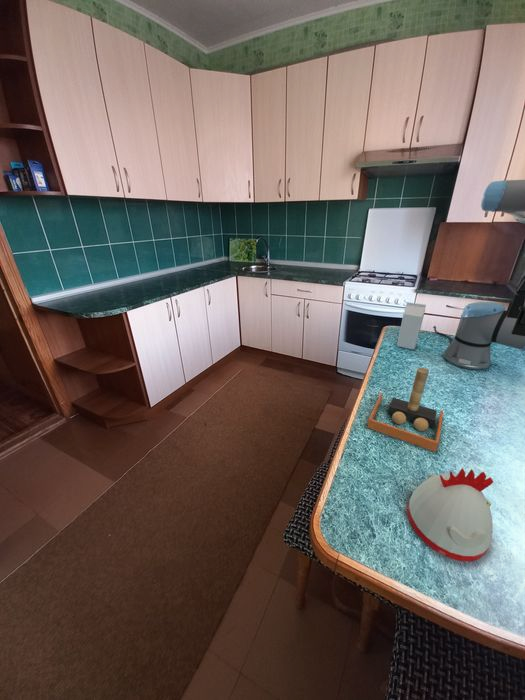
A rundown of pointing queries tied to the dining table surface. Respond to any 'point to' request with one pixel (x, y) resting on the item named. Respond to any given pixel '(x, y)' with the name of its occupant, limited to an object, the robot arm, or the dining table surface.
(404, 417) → the crumb
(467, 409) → the dining table surface
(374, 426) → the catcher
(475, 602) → the dining table surface
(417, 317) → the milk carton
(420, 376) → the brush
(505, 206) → the robot arm
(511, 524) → the dining table surface
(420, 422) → the crumb
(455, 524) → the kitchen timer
